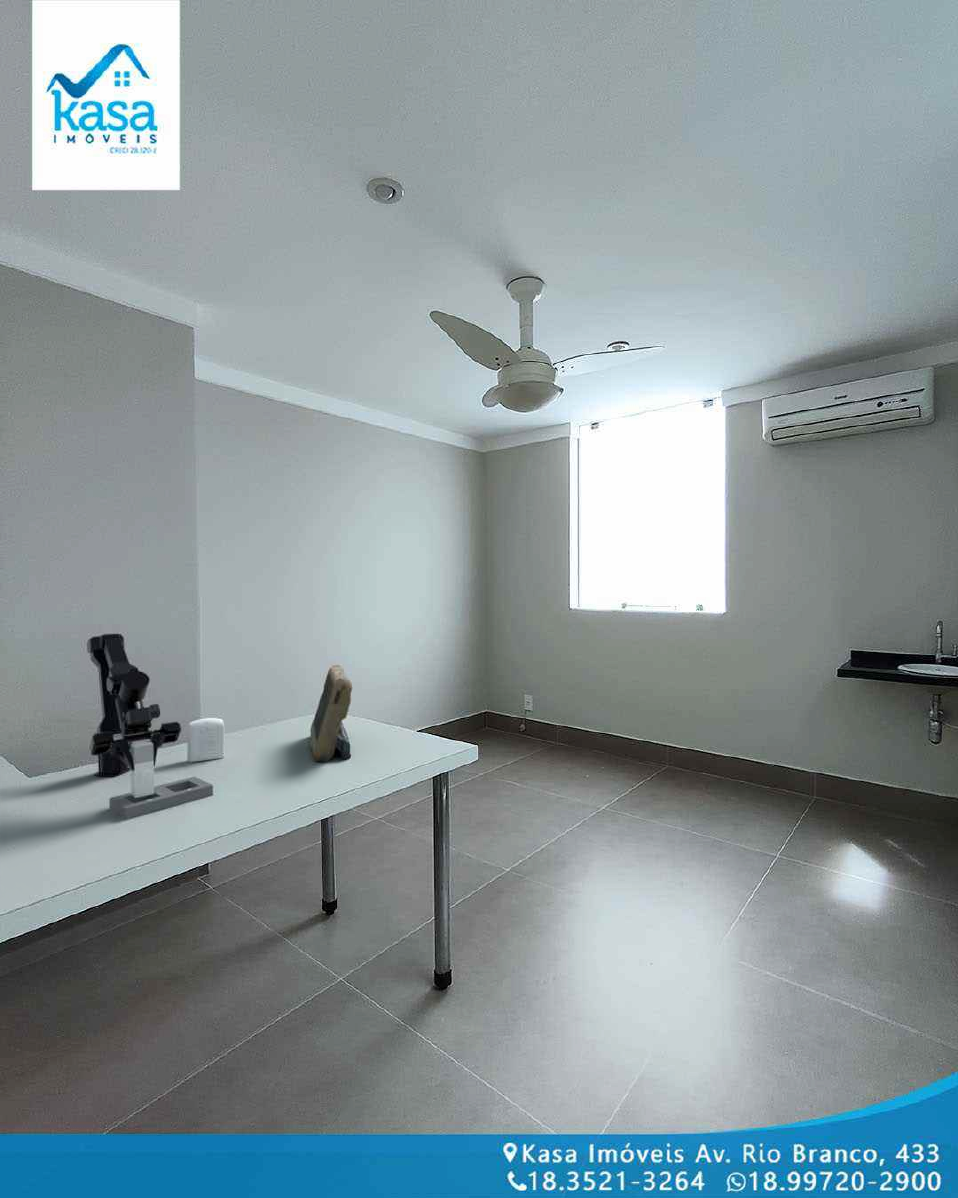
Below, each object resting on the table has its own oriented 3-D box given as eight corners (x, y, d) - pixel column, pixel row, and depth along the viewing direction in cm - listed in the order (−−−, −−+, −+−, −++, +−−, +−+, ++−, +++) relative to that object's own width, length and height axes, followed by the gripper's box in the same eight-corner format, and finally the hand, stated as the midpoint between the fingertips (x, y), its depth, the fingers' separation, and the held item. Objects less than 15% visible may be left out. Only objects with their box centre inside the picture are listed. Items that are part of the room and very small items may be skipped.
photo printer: (223, 754, 183) (222, 715, 182) (225, 758, 179) (225, 717, 179) (186, 760, 177) (186, 719, 176) (188, 763, 173) (188, 722, 173)
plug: (131, 793, 141) (130, 743, 140) (149, 789, 143) (148, 740, 143) (135, 799, 137) (135, 748, 137) (154, 794, 140) (154, 744, 139)
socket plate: (109, 808, 139) (109, 797, 139) (194, 785, 155) (194, 775, 155) (125, 819, 133) (125, 807, 133) (212, 794, 149) (212, 784, 148)
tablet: (302, 736, 204) (302, 665, 203) (343, 733, 209) (342, 663, 208) (314, 764, 174) (314, 680, 173) (361, 759, 179) (361, 677, 178)
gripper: (91, 699, 136) (102, 757, 129) (178, 689, 149) (193, 742, 141) (85, 726, 142) (95, 783, 135) (170, 715, 155) (183, 766, 147)
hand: (143, 767), depth 139 cm, fingers closed on plug, 4 cm apart
